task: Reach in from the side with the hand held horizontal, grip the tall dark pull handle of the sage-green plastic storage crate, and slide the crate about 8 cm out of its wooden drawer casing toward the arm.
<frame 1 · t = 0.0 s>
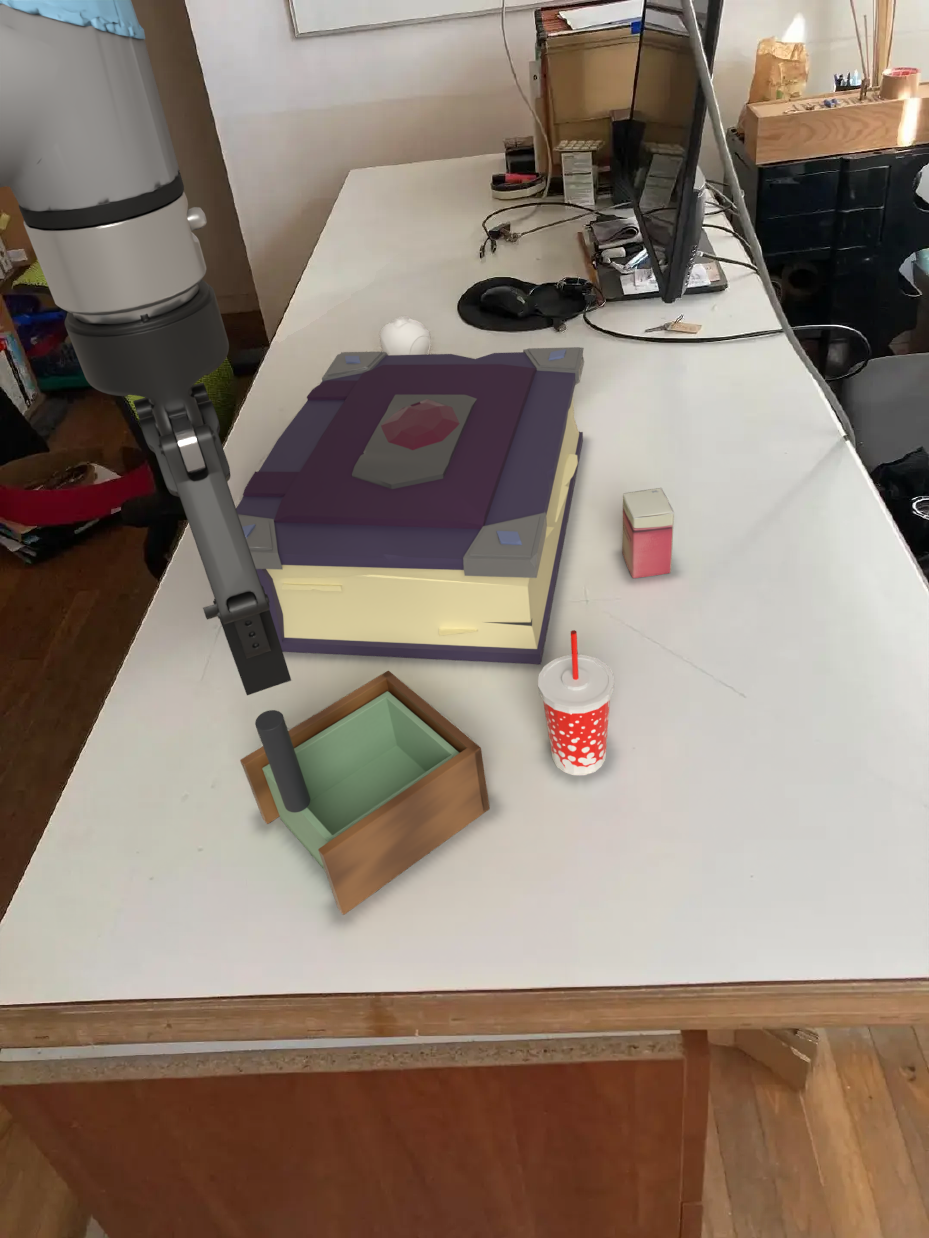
hand: (245, 620, 60), 24 cm above the table, tool pointing down, fingers open, 13 cm apart
book: (428, 532, 109), on the table
storage crate: (354, 752, 72), point 8 cm above the table, slide at 0.0 cm
small box: (646, 565, 100), on the table
wooden drawer casing: (375, 814, 78), on the table
white lumpy ball: (408, 365, 146), on the table
beverage cup: (579, 756, 80), on the table
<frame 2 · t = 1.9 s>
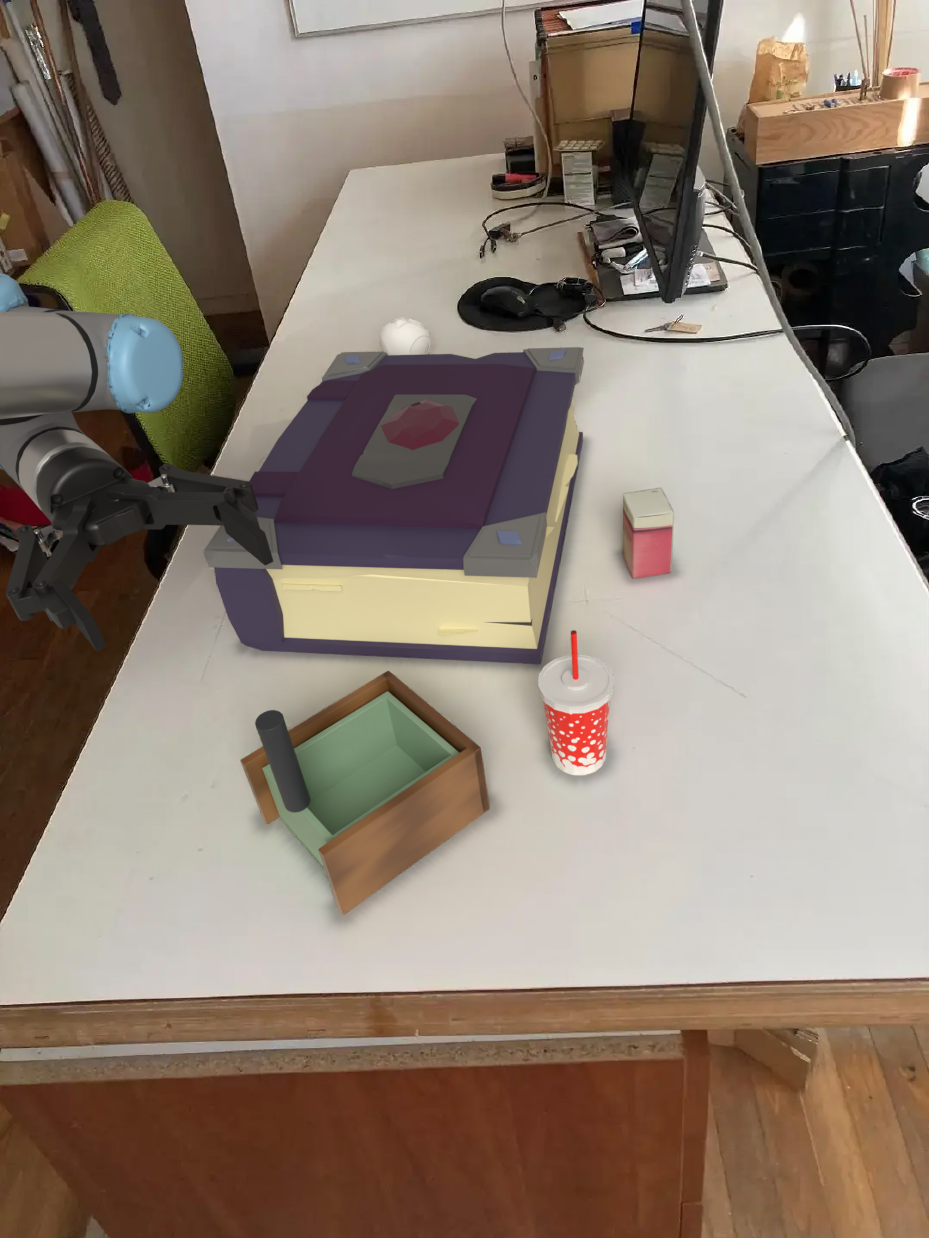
hand: (183, 590, 67), 22 cm above the table, tool horizontal, fingers open, 13 cm apart
nothing on the table moved.
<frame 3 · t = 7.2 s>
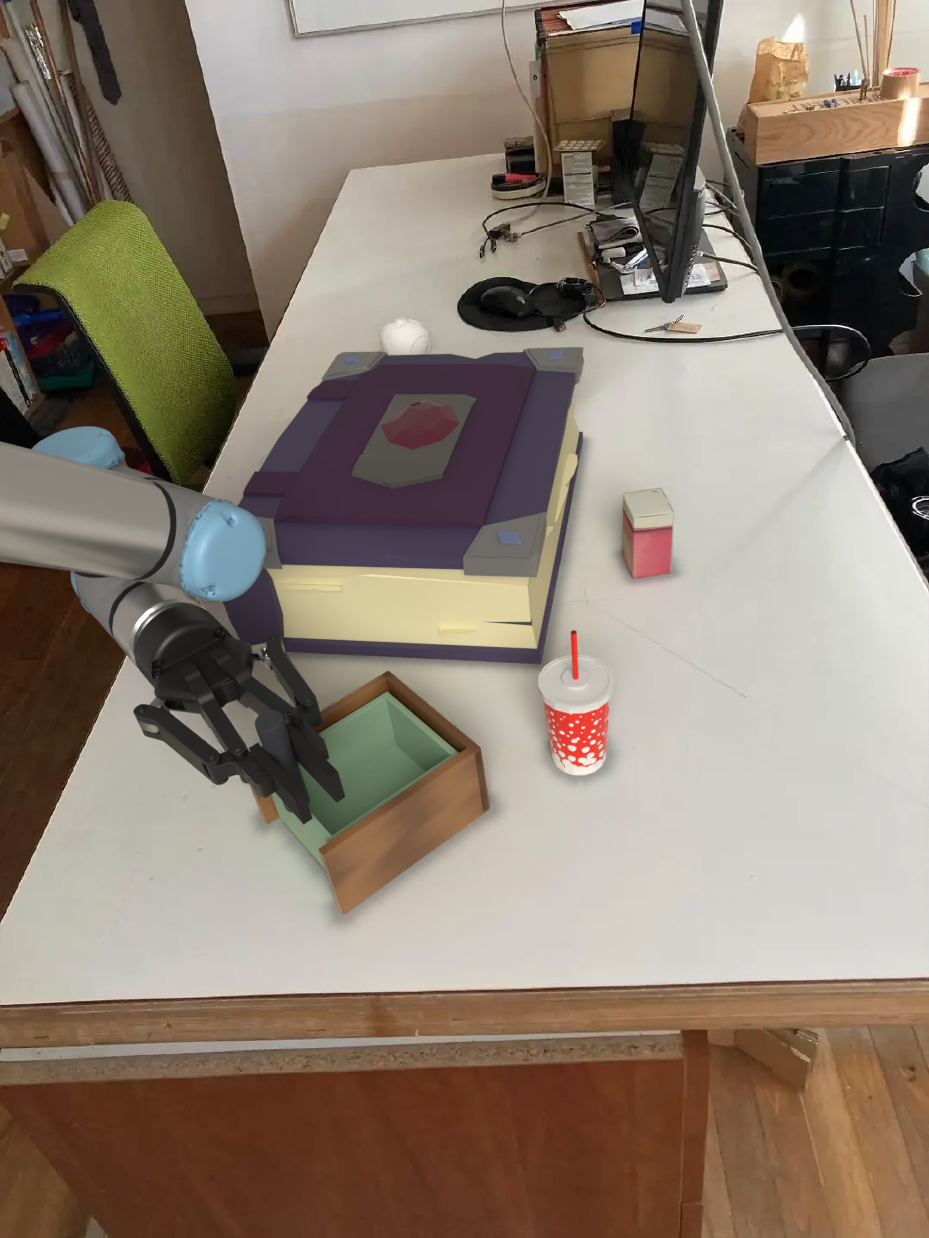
hand: (320, 797, 64), 12 cm above the table, tool horizontal, fingers closed on storage crate, 2 cm apart
storage crate: (354, 753, 72), point 8 cm above the table, slide at 0.0 cm, touching gripper
everything else where it was.
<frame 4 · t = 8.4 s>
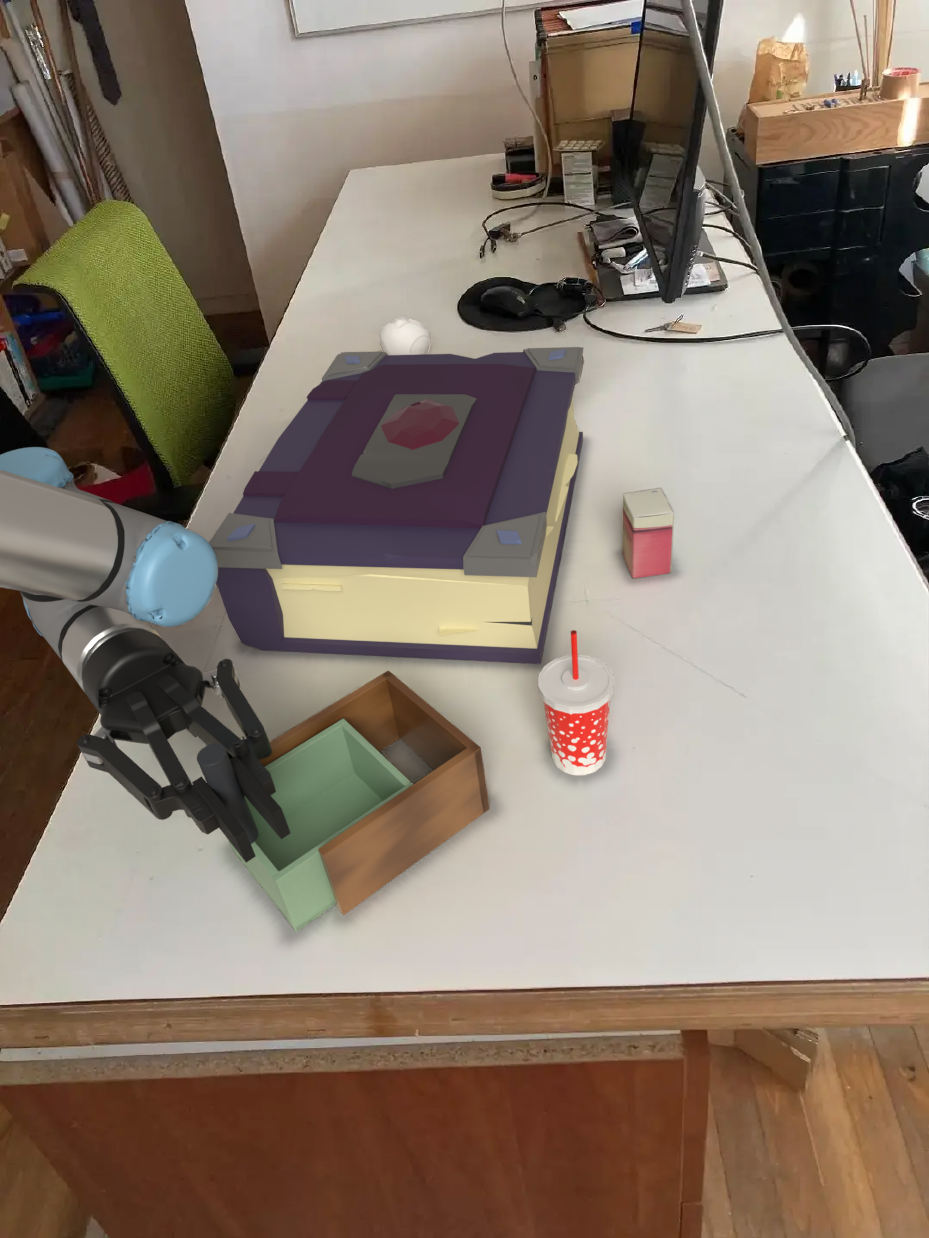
hand: (263, 834, 62), 12 cm above the table, tool horizontal, fingers closed on storage crate, 2 cm apart
storage crate: (305, 784, 70), point 8 cm above the table, slide at 4.6 cm, touching gripper
everything else where it was.
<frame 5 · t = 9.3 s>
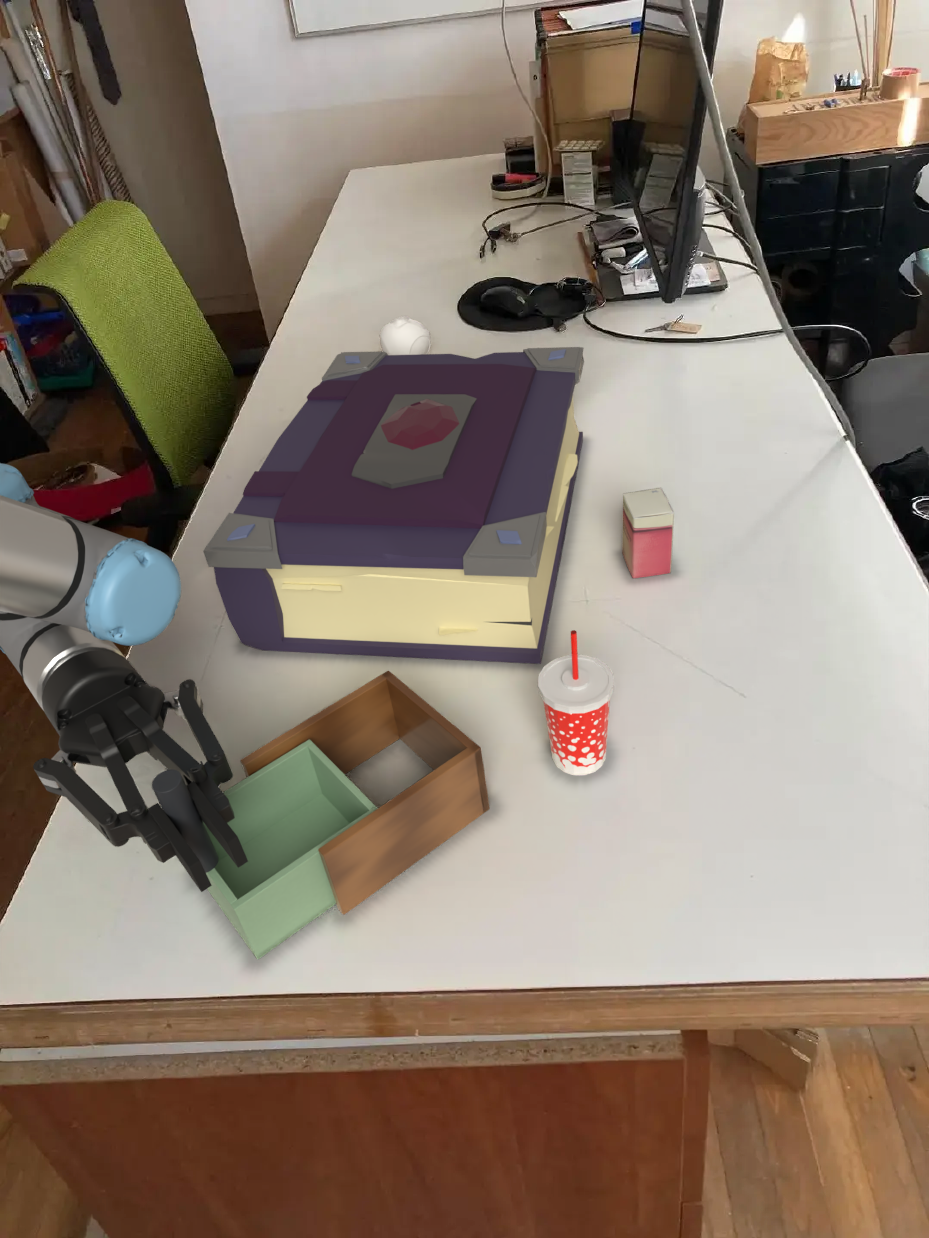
hand: (219, 863, 60), 12 cm above the table, tool horizontal, fingers closed on storage crate, 2 cm apart
storage crate: (267, 808, 69), point 8 cm above the table, slide at 7.9 cm, touching gripper
everything else where it was.
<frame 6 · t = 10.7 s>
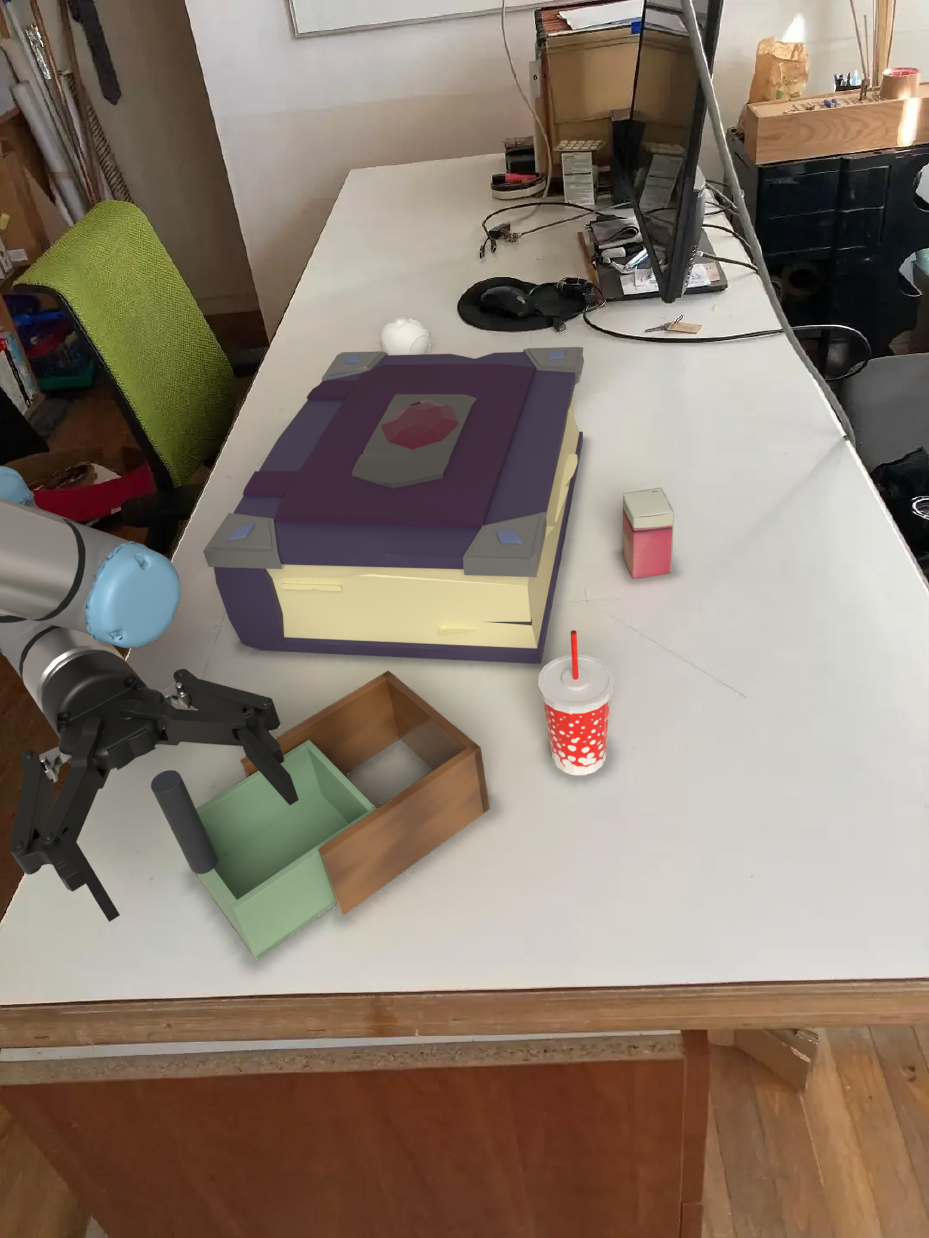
hand: (203, 846, 62), 12 cm above the table, tool horizontal, fingers open, 13 cm apart
storage crate: (266, 809, 69), point 8 cm above the table, slide at 8.0 cm
everything else where it was.
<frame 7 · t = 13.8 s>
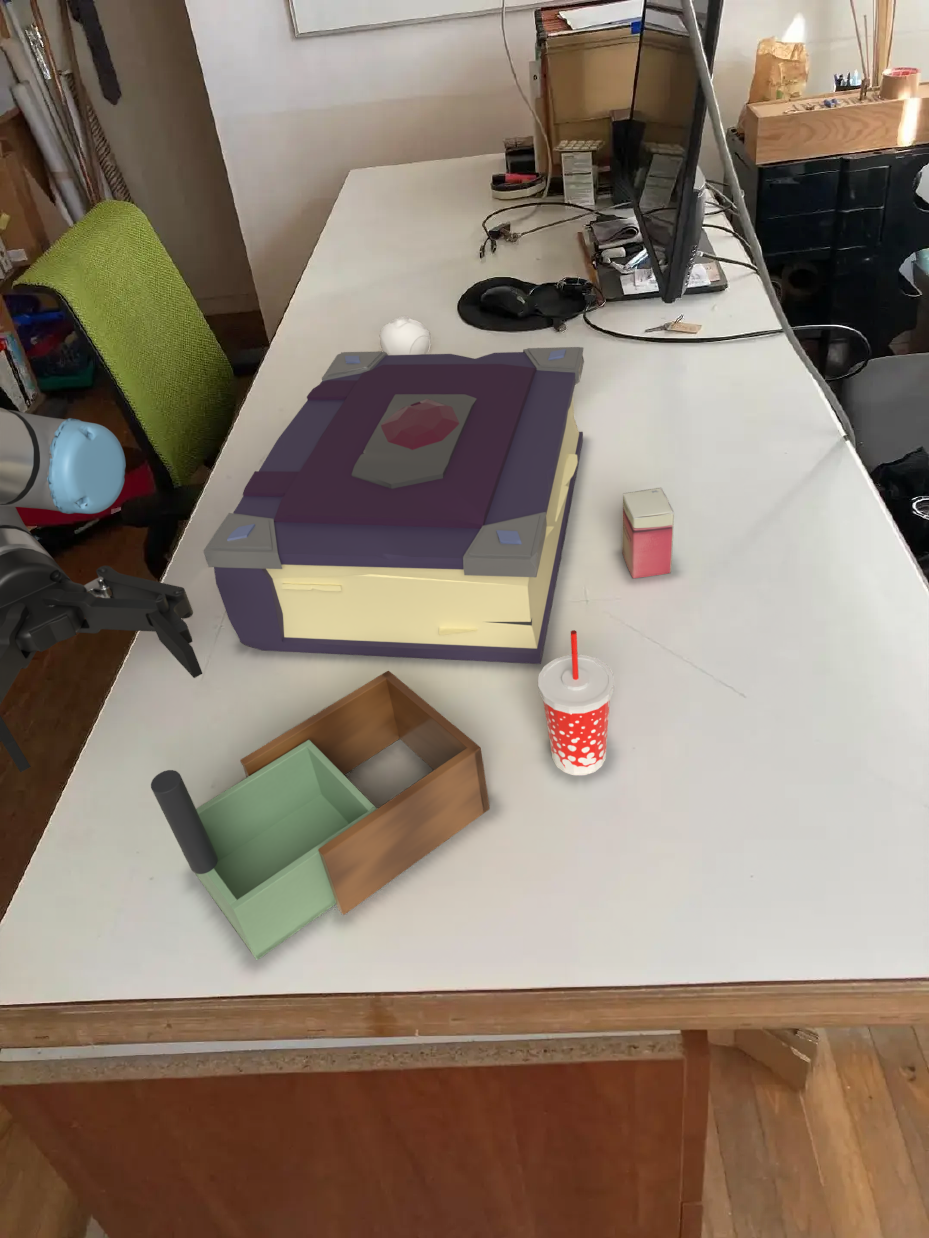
hand: (109, 708, 68), 16 cm above the table, tool horizontal, fingers open, 13 cm apart
nothing on the table moved.
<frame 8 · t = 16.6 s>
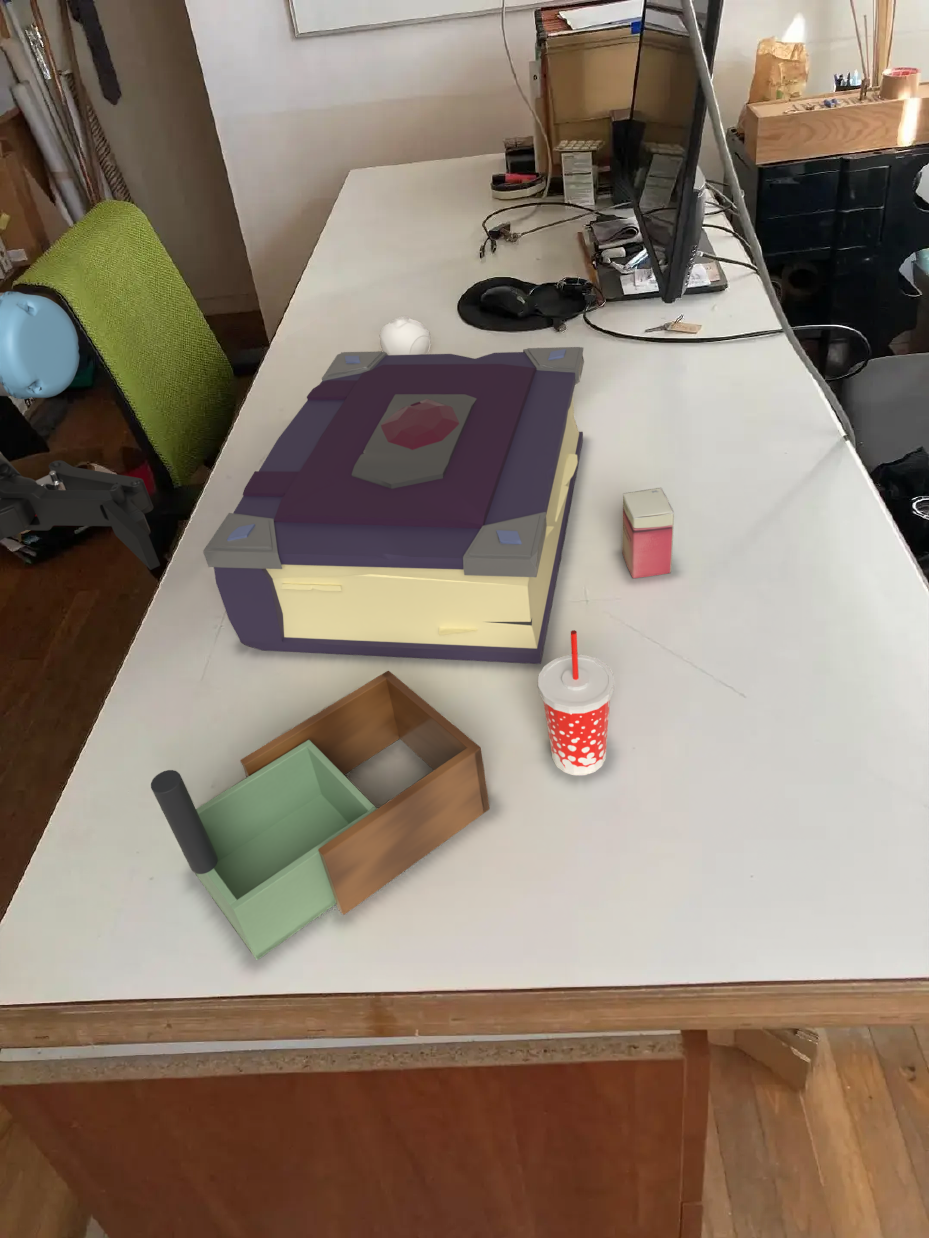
hand: (54, 596, 61), 26 cm above the table, tool horizontal, fingers open, 13 cm apart
nothing on the table moved.
at the end: storage crate slide at 8.0 cm; the gripper is holding nothing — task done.
